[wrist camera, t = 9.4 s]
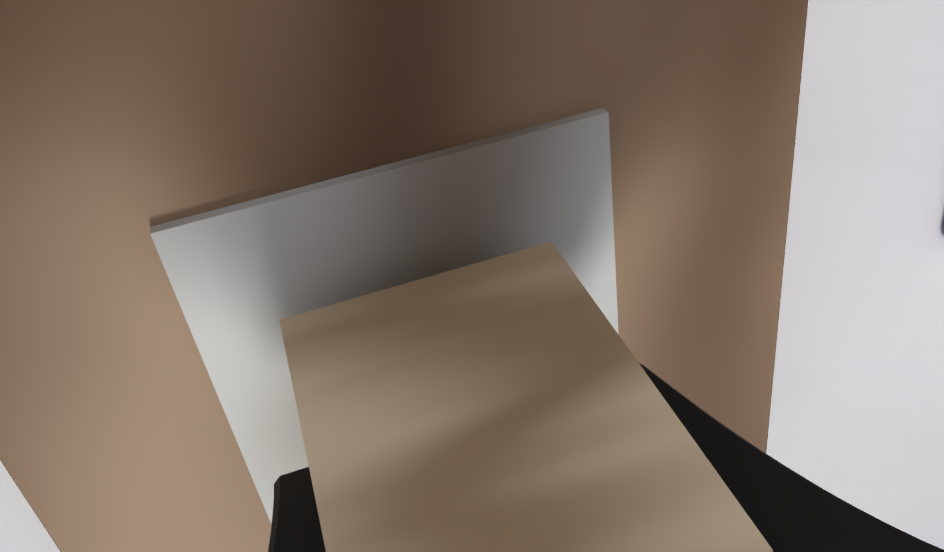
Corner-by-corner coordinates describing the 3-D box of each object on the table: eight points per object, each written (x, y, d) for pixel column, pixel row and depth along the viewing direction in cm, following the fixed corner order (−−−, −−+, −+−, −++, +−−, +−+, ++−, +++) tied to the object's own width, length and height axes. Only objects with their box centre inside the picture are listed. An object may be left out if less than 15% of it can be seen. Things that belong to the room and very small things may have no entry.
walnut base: (765, -196, 13) (834, -182, 12) (729, 439, 22) (767, 490, 20) (-224, 12, 11) (-276, 56, 10) (154, 633, 19) (155, 704, 18)
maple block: (551, 241, 13) (773, 550, 9) (570, 433, 16) (750, 756, 11) (279, 319, 13) (355, 701, 8) (342, 508, 15) (431, 885, 10)
